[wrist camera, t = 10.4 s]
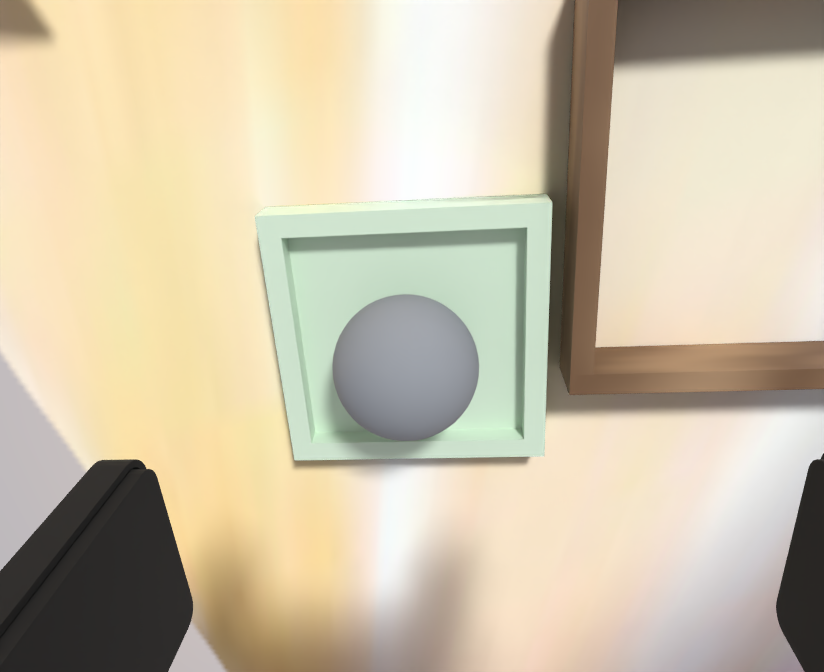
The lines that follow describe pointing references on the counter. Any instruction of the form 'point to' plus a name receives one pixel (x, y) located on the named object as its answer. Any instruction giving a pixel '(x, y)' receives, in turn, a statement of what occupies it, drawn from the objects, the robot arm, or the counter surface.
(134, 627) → the robot arm
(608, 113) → the wooden picture frame
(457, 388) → the ball
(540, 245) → the dish
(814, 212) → the counter surface
